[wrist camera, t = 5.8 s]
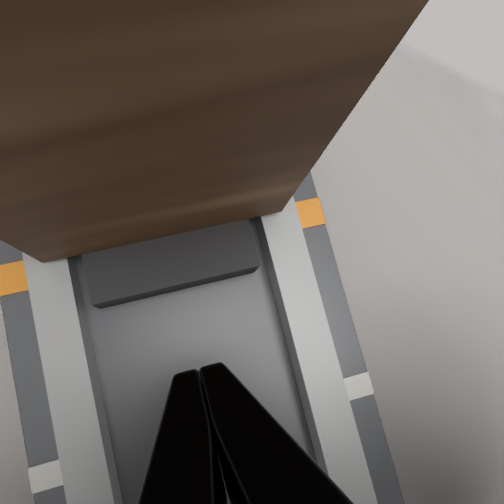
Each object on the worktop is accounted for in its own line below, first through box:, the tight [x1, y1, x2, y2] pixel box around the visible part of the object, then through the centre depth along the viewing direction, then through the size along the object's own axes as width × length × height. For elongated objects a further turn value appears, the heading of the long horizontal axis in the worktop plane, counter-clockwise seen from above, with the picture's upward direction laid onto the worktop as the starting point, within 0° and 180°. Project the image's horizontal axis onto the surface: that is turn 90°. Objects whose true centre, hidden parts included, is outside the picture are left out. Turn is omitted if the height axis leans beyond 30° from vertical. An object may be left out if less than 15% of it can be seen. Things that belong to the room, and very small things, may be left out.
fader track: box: [0, 172, 404, 504], centre depth 12 cm, size 20×9×2 cm, turn 14°
